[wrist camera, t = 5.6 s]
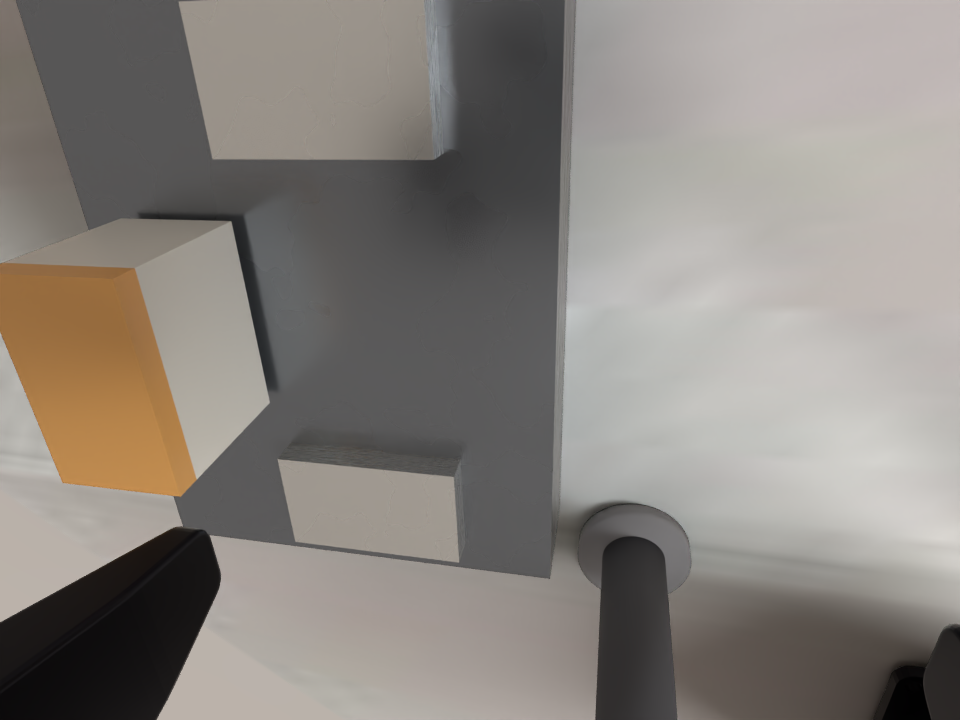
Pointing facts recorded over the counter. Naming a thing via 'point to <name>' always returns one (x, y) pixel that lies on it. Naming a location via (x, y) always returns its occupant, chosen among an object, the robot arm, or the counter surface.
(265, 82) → the panel
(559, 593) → the counter surface
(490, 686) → the counter surface
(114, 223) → the slider
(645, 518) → the post
